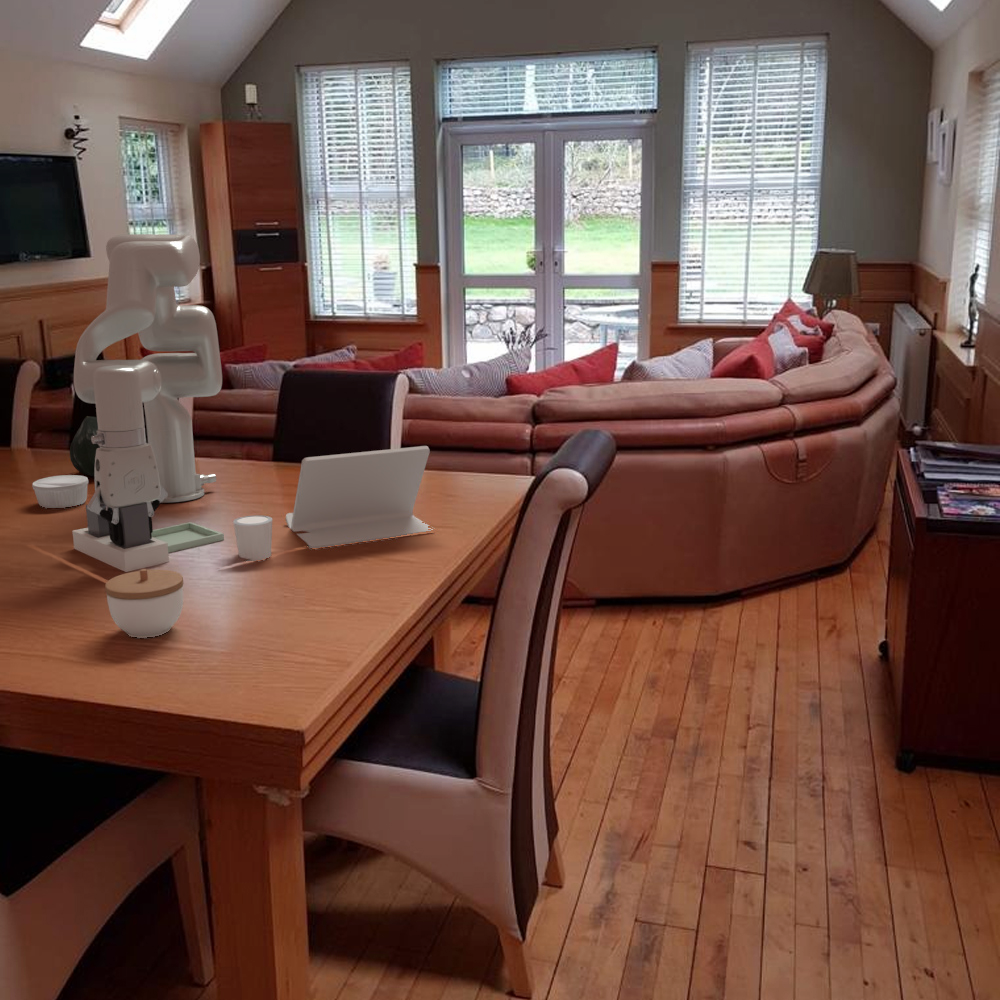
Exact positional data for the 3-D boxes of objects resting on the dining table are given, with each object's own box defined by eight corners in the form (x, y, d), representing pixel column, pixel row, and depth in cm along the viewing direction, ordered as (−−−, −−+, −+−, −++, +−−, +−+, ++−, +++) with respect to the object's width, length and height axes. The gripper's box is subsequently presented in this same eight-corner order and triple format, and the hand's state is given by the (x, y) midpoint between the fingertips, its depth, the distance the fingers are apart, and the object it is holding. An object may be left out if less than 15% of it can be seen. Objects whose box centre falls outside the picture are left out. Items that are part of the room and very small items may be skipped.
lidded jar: (121, 619, 157) (115, 559, 155) (193, 616, 158) (189, 557, 156) (100, 646, 147) (94, 582, 145) (178, 643, 148) (173, 580, 146)
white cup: (281, 553, 190) (279, 516, 188) (261, 564, 183) (259, 526, 182) (249, 550, 192) (246, 513, 190) (227, 560, 186) (225, 522, 184)
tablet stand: (436, 533, 203) (434, 447, 198) (311, 551, 192) (306, 460, 188) (402, 512, 218) (399, 432, 214) (284, 527, 207) (280, 443, 203)
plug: (151, 547, 183) (146, 494, 181) (126, 552, 180) (121, 498, 178) (138, 542, 186) (133, 489, 184) (114, 547, 183) (109, 494, 181)
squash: (154, 450, 255) (122, 402, 257) (103, 464, 243) (69, 413, 245) (130, 483, 263) (99, 435, 265) (79, 497, 251) (47, 448, 253)
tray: (191, 530, 205) (190, 522, 204) (224, 542, 196) (223, 533, 196) (133, 543, 196) (132, 534, 196) (165, 556, 188) (164, 547, 188)
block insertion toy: (116, 542, 197) (110, 488, 194) (169, 564, 183) (164, 506, 181) (74, 551, 191) (68, 495, 189) (126, 575, 178) (120, 515, 175)
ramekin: (37, 513, 219) (34, 488, 218) (32, 501, 228) (30, 478, 227) (93, 506, 224) (91, 482, 223) (87, 495, 234) (84, 472, 232)
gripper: (84, 448, 170) (95, 555, 175) (178, 434, 182) (186, 535, 186) (64, 442, 175) (75, 547, 180) (157, 429, 187) (165, 527, 191)
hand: (132, 539), depth 183 cm, fingers closed on plug, 4 cm apart
